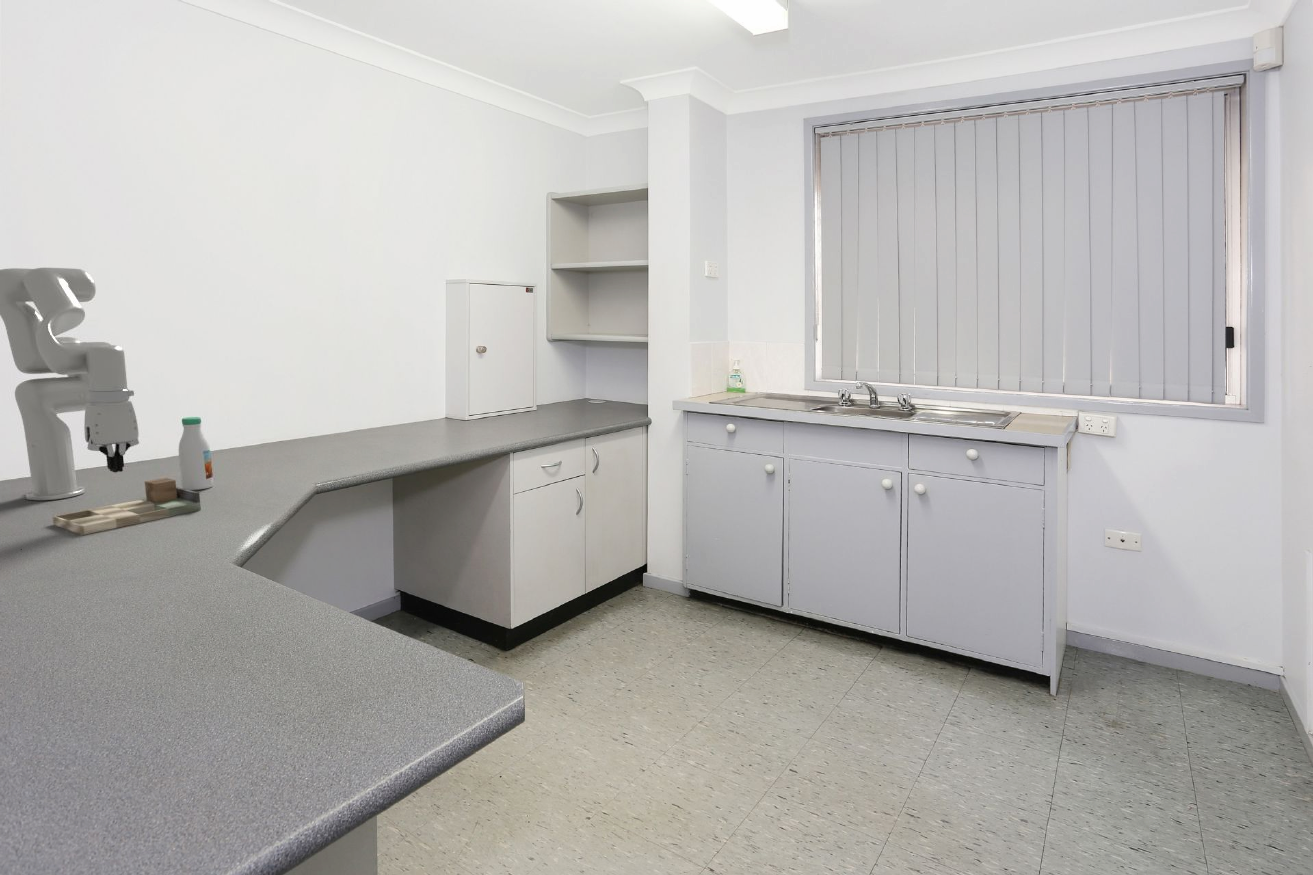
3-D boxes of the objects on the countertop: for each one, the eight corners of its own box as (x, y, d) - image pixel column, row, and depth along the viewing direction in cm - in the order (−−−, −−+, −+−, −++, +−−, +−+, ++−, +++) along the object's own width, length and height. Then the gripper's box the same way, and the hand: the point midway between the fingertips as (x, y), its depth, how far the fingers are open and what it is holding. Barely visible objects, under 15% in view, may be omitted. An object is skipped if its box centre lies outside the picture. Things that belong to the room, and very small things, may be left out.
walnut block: (146, 500, 196) (144, 481, 196) (167, 496, 201) (165, 477, 200) (156, 503, 194) (154, 483, 193) (177, 499, 198) (175, 480, 197)
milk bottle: (199, 491, 214) (192, 420, 211) (175, 490, 216) (168, 419, 212) (220, 485, 222) (213, 416, 218) (196, 483, 223) (190, 415, 220)
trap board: (53, 524, 182) (51, 505, 181) (170, 501, 203) (169, 484, 203) (81, 535, 174) (79, 515, 173) (200, 509, 195) (199, 492, 195)
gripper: (135, 392, 194) (142, 463, 197) (65, 398, 181) (73, 474, 185) (150, 395, 190) (156, 468, 193) (80, 402, 177) (88, 479, 181)
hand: (116, 470), depth 189 cm, fingers closed
